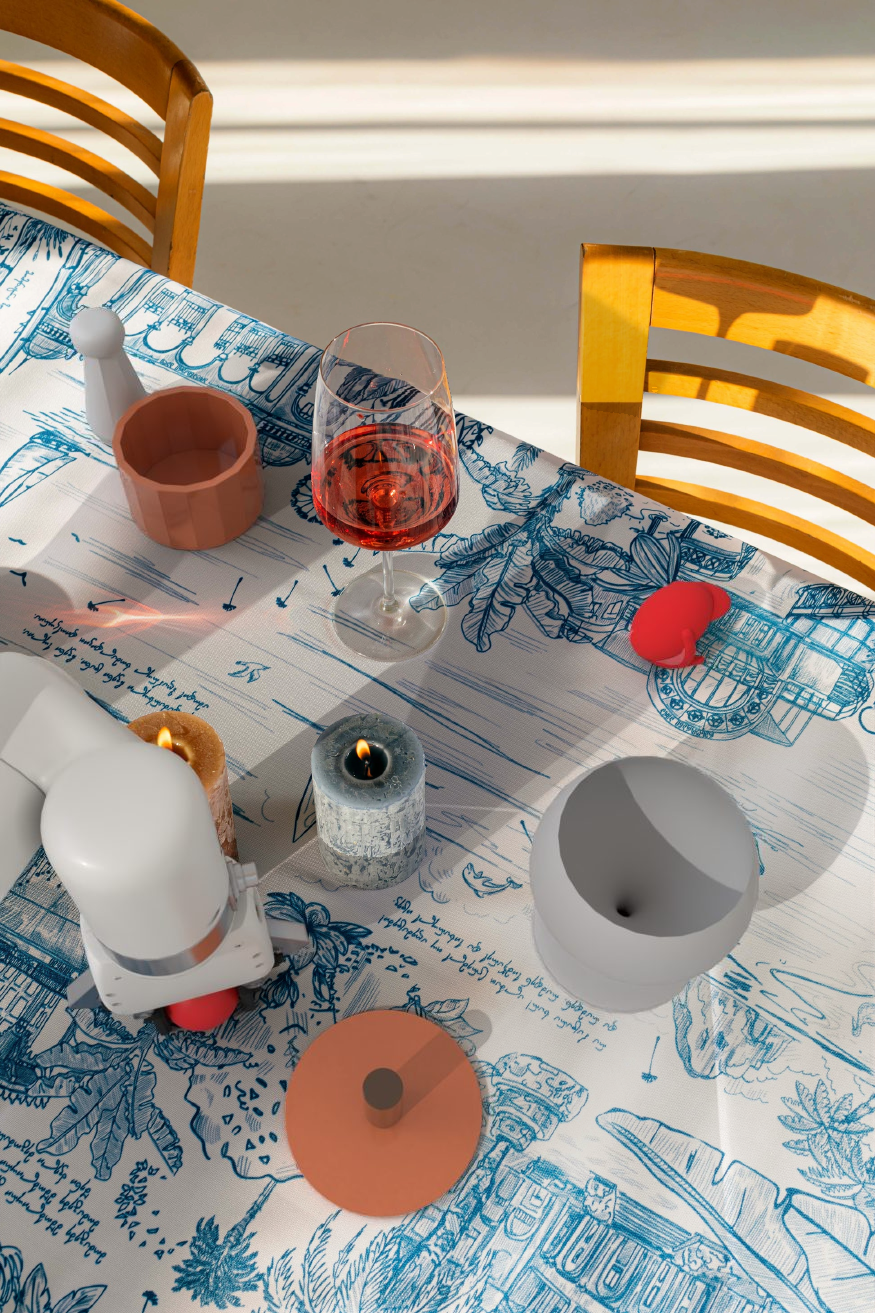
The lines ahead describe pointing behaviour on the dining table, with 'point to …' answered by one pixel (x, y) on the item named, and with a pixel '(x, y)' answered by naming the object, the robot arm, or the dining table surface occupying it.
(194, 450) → the pot
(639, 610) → the cap
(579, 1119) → the dining table surface
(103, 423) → the salt shaker
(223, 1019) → the tomato
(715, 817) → the chalice
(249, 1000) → the robot arm
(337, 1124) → the lid
